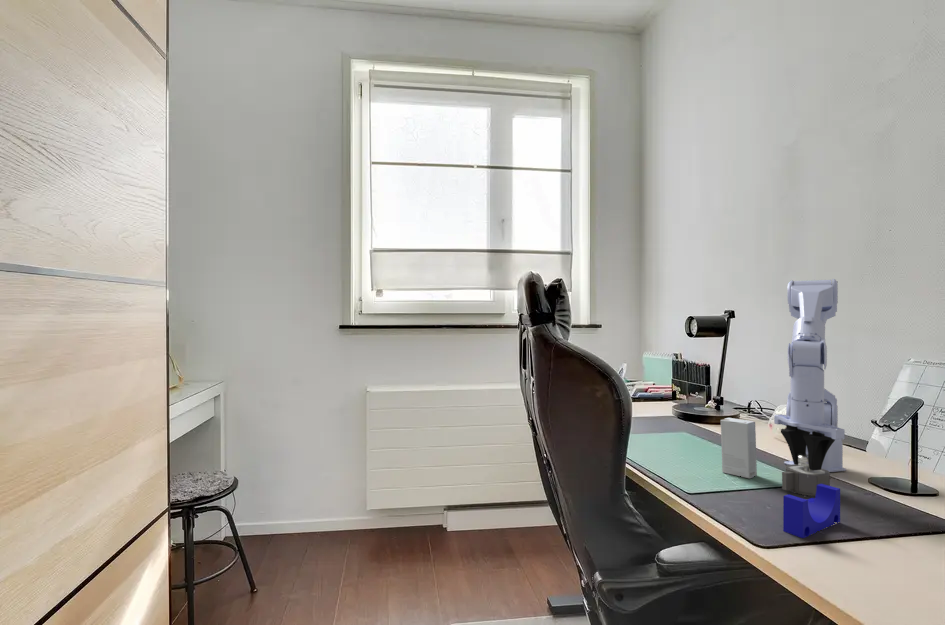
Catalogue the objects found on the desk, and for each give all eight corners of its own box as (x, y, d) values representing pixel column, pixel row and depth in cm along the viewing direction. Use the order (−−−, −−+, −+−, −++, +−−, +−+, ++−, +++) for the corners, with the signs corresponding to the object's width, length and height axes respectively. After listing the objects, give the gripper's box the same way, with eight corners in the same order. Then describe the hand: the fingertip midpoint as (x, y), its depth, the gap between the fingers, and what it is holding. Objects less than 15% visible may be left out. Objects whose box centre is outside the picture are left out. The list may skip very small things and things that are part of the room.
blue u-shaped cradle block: (811, 514, 90) (811, 481, 90) (840, 523, 86) (840, 488, 86) (774, 528, 84) (774, 493, 84) (802, 539, 80) (802, 501, 80)
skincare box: (757, 475, 111) (757, 421, 111) (749, 479, 109) (749, 423, 109) (729, 468, 116) (729, 416, 116) (720, 472, 113) (720, 419, 113)
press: (806, 483, 106) (806, 463, 106) (838, 495, 99) (838, 474, 99) (769, 486, 104) (769, 466, 104) (799, 499, 97) (799, 477, 97)
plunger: (806, 481, 104) (806, 453, 104) (820, 486, 101) (820, 457, 101) (793, 482, 103) (793, 454, 103) (807, 487, 100) (807, 458, 100)
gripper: (762, 394, 108) (762, 457, 108) (823, 407, 94) (823, 479, 94) (789, 393, 110) (789, 455, 110) (853, 405, 96) (853, 476, 96)
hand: (807, 466), depth 102 cm, fingers closed on plunger, 3 cm apart
